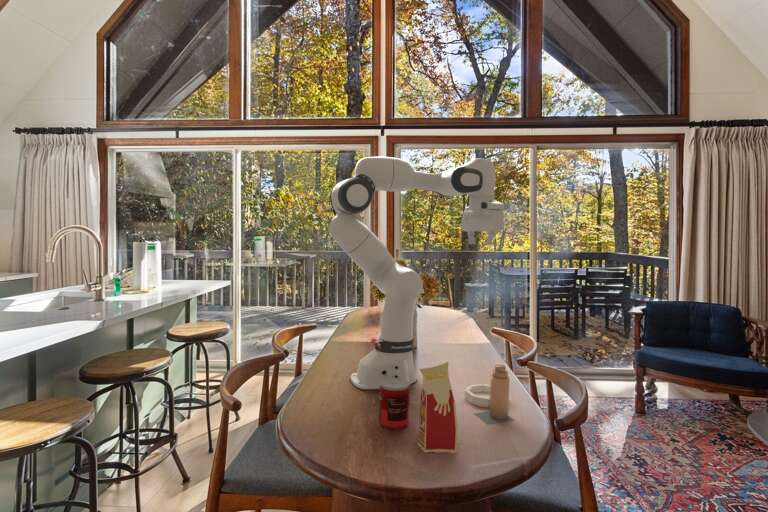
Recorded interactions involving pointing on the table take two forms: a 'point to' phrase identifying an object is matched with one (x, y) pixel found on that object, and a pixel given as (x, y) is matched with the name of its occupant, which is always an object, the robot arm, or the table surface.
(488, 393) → the bowl
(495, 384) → the tan knobbed cylinder
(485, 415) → the felt mat
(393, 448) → the table surface
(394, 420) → the canned food
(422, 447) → the milk carton
